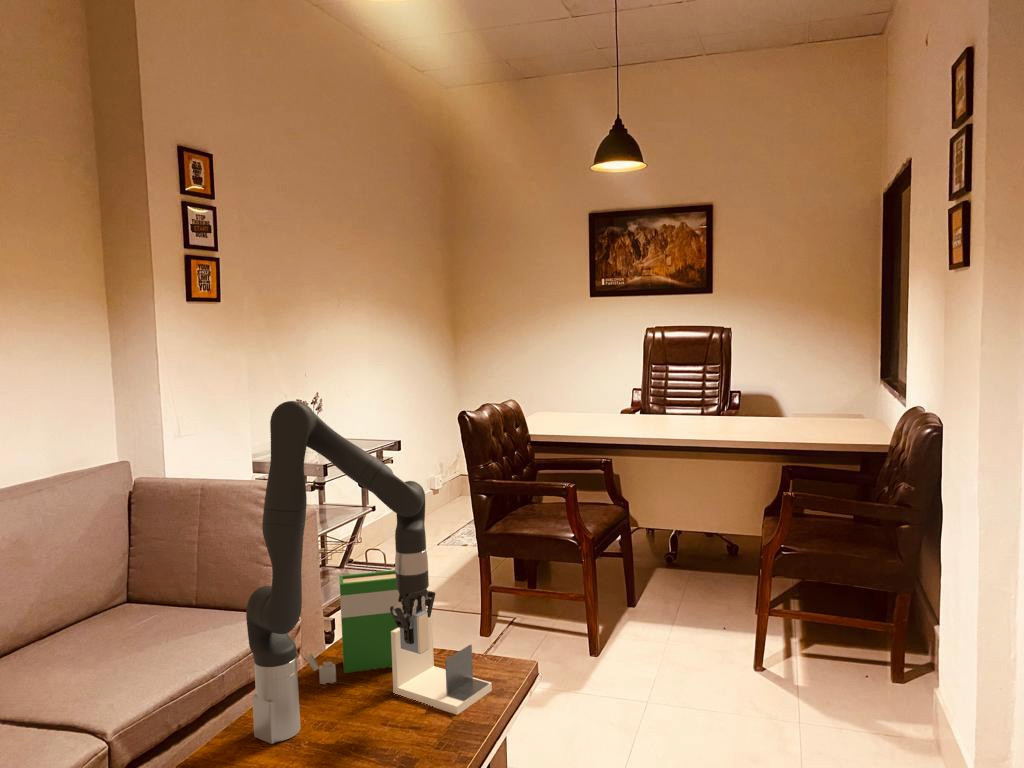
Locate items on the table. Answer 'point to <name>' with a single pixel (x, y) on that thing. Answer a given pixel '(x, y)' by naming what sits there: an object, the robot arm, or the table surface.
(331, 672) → the lighter
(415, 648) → the small book
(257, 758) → the table surface
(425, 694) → the shelf
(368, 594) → the hardback book
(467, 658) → the bookend
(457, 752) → the table surface
